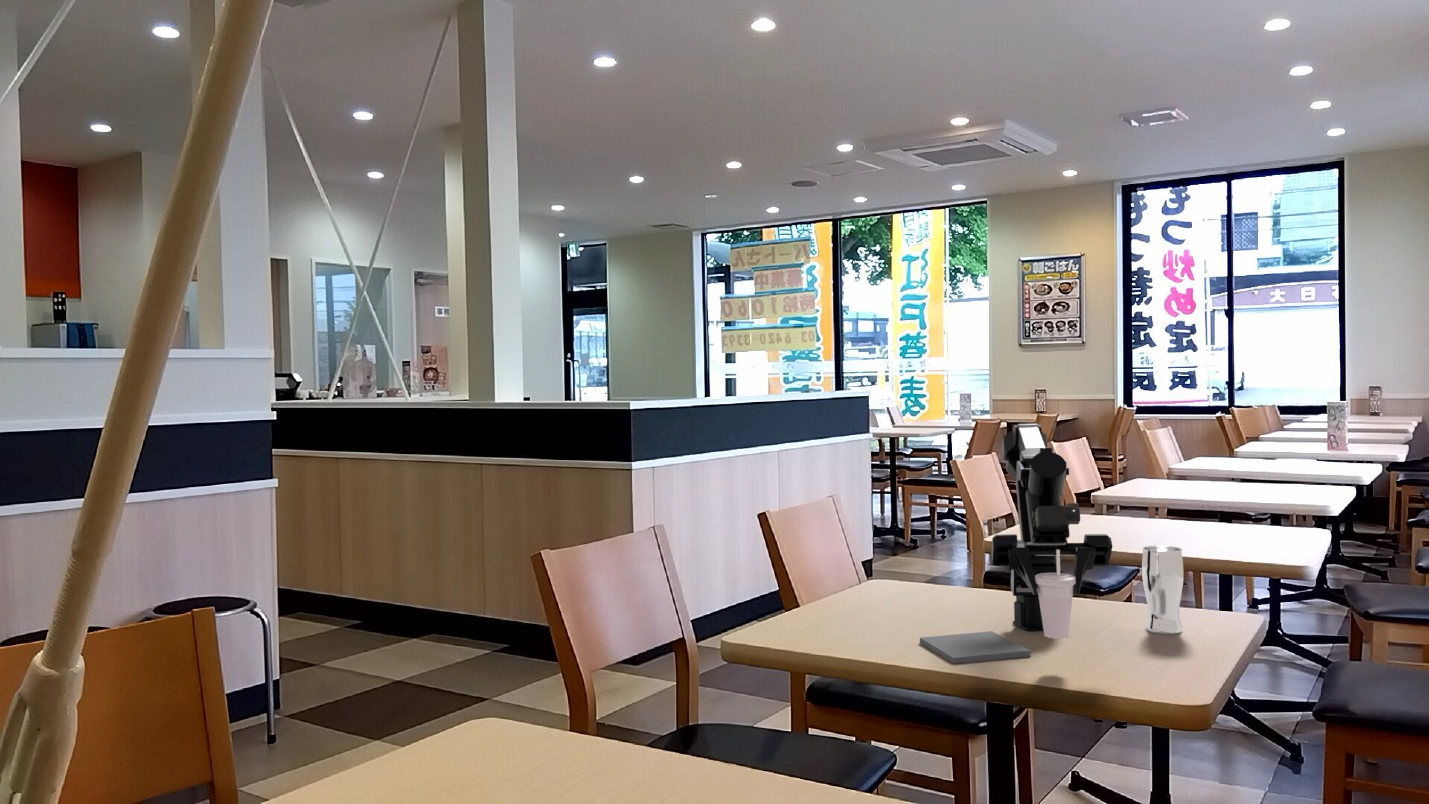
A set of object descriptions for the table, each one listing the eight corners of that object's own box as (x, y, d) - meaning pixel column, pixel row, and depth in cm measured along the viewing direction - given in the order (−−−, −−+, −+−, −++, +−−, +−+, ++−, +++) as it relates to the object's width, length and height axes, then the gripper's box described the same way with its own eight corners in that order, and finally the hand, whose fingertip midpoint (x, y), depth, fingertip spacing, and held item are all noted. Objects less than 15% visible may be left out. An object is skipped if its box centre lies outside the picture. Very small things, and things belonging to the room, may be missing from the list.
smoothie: (1082, 640, 166) (1080, 552, 166) (1041, 641, 167) (1039, 553, 166) (1070, 630, 173) (1068, 545, 172) (1031, 630, 173) (1029, 546, 172)
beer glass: (1134, 628, 193) (1133, 547, 193) (1163, 624, 196) (1161, 544, 196) (1164, 636, 187) (1162, 553, 187) (1193, 631, 190) (1191, 549, 189)
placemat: (991, 636, 191) (991, 631, 191) (1030, 656, 177) (1030, 650, 177) (919, 643, 188) (919, 637, 188) (953, 663, 174) (953, 657, 174)
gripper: (991, 486, 174) (998, 565, 164) (1109, 485, 171) (1124, 566, 161) (988, 525, 182) (995, 603, 172) (1101, 525, 179) (1115, 604, 169)
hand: (1056, 594), depth 168 cm, fingers closed on smoothie, 6 cm apart
